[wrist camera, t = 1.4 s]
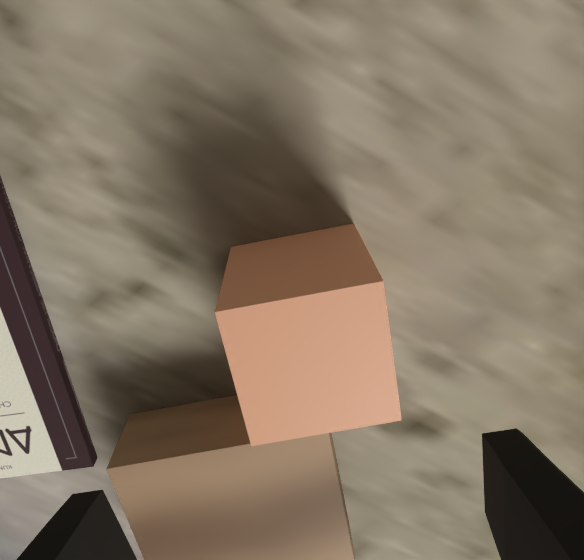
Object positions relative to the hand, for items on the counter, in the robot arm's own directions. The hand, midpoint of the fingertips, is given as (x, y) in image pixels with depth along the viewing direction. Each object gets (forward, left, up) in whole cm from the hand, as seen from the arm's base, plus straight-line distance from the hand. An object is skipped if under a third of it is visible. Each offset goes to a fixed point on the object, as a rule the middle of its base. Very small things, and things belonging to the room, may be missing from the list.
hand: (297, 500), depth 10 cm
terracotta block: (0, -1, -10) cm, 10 cm away
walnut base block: (-8, +3, -11) cm, 14 cm away
